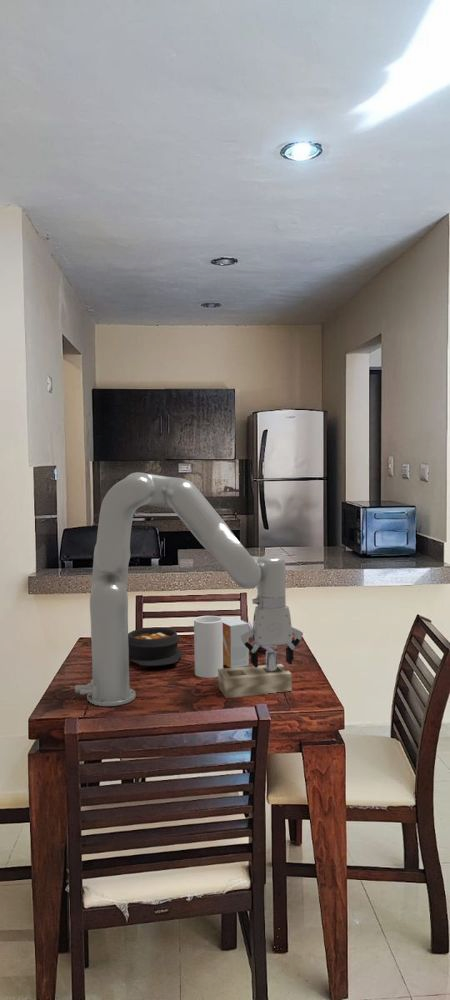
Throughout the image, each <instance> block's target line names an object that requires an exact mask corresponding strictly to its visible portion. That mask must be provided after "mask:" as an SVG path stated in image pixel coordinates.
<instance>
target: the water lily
mask: <svg viewBox="0 0 450 1000" xmlns="http://www.w3.org/2000/svg"><path fill="white" fill-rule="evenodd" d="M244 622H246V623H248V621H247V620H246V619H245V621H244ZM251 629H253V624H251V621H249V623H248V631H249V630H251ZM251 637H252V638H253V635H252V636H251ZM259 648H263V649H264V650H266V651H268V650H274V649H273V648H278V647H277V645H273V646H259ZM249 654H250V650H249Z"/></svg>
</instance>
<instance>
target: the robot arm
mask: <svg viewBox="0 0 450 1000" xmlns="http://www.w3.org/2000/svg"><path fill="white" fill-rule="evenodd" d="M146 505H147V506H153V507H160V508H168V509H169V508H170V509H172V511H173V512H174V513H175V514H176V515H177V518H179V519H180V521H182V523H183V524H184V525H185V526H186V528H187V529H188V530H189V531H190V532H191V534H192V535H193V536H194V537H195V538H196V540H197V542H199V544H200V545H202V547H203V548H204V549H206V550H207V551H208V552H209V553H210V554H211V555H212V556H213V557H214V559H216V561H217V562H218V563H219V564H220V566H221V567H222V568H223V569H224V571H226V573H227V574H228V577H229V578H230V579H231V580H232V581H233V582H234V583H235V584H236V585H237V586H238V587H239V588H242V589H245V590H246V589H248V590H249V589H253V588H255V587H256V586H257V587H256V588H257V595H256V597H255V598H252V604H254V605H257V606H255V609H254V614H253V619H252V628H253V629H251V630H248V632H246V633H245V634H243V635H241V636H240V638H241V640H242V642H243V643H244V645H245V646H246V647H247V648H248V649H249V650H250V653H249V656H250V664H252V666H254V667H258V666H259V660H258V659H259V655H258V652H257V650H258V649H259V648H260V647H259V646H282V645H286V646H287V647H285V661H286V663H287V664H288V665H293V661H294V659H295V658H294V650H295V649H296V647H297V646H298V645H299V644H300V641H301V639H302V637H303V635H304V633H303V632H302V631H301V630H300V629H297V628H295V627H293V626H292V618H291V613H290V607H289V606H287V605H286V603H287V602H286V601H287V600H286V599H287V598H286V561H285V558H284V557H282V556H280V555H262V556H254V555H251V553H249V551H248V550H247V549H246V547H245V546H243V544H242V543H241V542H240V540H239V539H238V538H237V537H236V535H235V534H234V532H233V531H232V530H231V528H230V527H229V526H228V524H227V523H226V522H225V521H224V520H223V518H222V517H221V516H220V514H219V513H218V512H217V511H216V510H215V509H214V507H213V506H212V505H211V504H210V502H209V501H208V500H207V499H206V497H205V496H204V495H203V493H202V492H201V491H200V490H199V488H197V486H196V485H195V484H194V483H193V482H192V481H190V480H188V479H186V478H183V477H174V476H173V477H172V476H166V475H165V476H164V475H158V474H151V473H147V472H141V471H140V472H133V473H132V472H131V473H129V475H127V476H126V477H125V478H123V479H121V480H120V481H118V482H116V483H115V484H114V485H112V487H110V489H109V490H108V491H107V493H106V494H105V496H104V498H103V499H102V502H101V505H100V511H99V517H98V526H97V533H96V534H97V535H96V543H95V546H94V551H93V561H92V562H93V563H92V576H91V587H90V593H89V595H90V596H89V612H90V613H89V614H90V615H89V616H90V634H91V635H90V636H91V637H90V640H91V671H92V672H91V674H92V677H91V678H92V679H90V682H89V683H86V684H76V685H74V693H75V694H80V695H83V696H84V695H86V699H87V700H88V701H89V702H90V703H89V702H88V701H87V700H86V701H87V702H88V703H89V704H91V703H92V705H93V704H94V705H93V706H97V705H98V706H99V707H117V706H122V705H125V704H128V703H131V702H133V700H135V699H136V694H137V693H136V690H134V689H133V688H130V661H129V647H128V634H129V597H128V589H127V588H128V587H127V586H128V575H129V573H128V572H129V563H130V561H131V560H130V559H131V548H130V547H131V534H132V526H133V518H134V514H135V512H136V511H137V509H138V508H140V507H142V506H146ZM293 634H295V637H294V638H293ZM252 635H253V637H252ZM251 637H252V641H253V642H252V643H250V642H249V639H250V638H251ZM247 639H248V640H247ZM98 706H97V707H98Z"/></svg>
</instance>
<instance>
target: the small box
mask: <svg viewBox="0 0 450 1000" xmlns="http://www.w3.org/2000/svg"><path fill="white" fill-rule="evenodd" d="M222 622H223V666H226V667H227V668H238V667H250V666H249V665H250V662H249V661H250V659H249V658H250V657H249V656H250V653H249V649H248V648H247V647H246V646H245V645H244V643H243V642H242V640H241V638H240V636H241V635H243V634H245V633H246V632H248V631H249V630H248V624H249V623H248V622H247V623H246V622H245V621H244V620H243V619H239V618H237V617H231V618H225V619H222ZM247 640H248V641H249V638H248V639H247Z"/></svg>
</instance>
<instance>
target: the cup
mask: <svg viewBox="0 0 450 1000" xmlns="http://www.w3.org/2000/svg"><path fill="white" fill-rule="evenodd" d="M222 620H223V618H222V617H221V616H218V615H202V616H201V615H200V616H197V617H194V618H193V640H194V642H193V643H194V644H193V645H194V647H193V649H194V651H193V652H194V675H195V676H196V677H199V678H205V679H207V678H208V679H209V678H210V679H211V678H218V669H224V664H223V622H222Z"/></svg>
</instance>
